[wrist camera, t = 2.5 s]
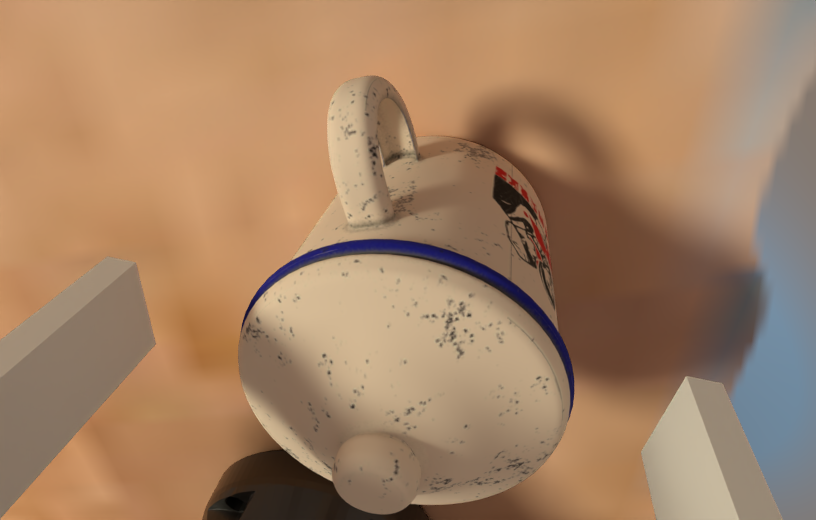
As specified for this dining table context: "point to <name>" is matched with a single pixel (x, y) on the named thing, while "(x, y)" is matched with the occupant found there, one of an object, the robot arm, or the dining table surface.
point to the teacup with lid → (412, 320)
